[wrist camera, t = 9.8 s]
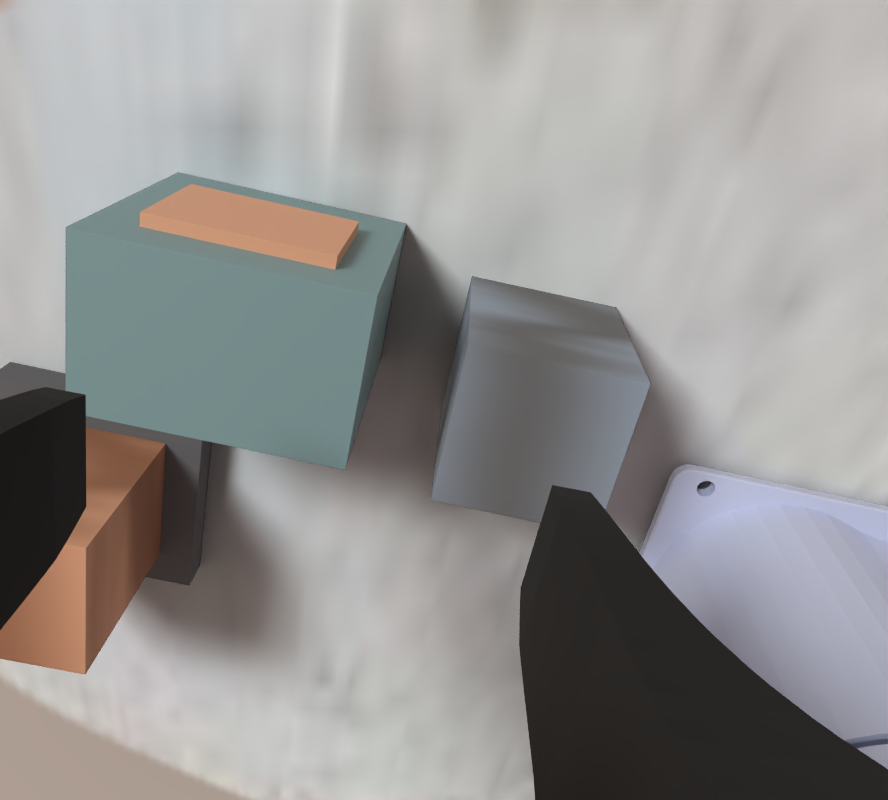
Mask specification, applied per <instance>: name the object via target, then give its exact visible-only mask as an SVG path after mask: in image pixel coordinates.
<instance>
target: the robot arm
mask: <svg viewBox="0 0 888 800" xmlns="http://www.w3.org/2000/svg"><path fill="white" fill-rule="evenodd" d="M703 481H710V482H711V484H710V486H709V487H707V488H705V489H698V488H697V486H698V485H699V484H700V483H701V482H703ZM85 508H86V395H85V394H80V393H74V392H69V391H64V390H59V389H54V388H49V387H43V388H38V389H34V390H30V391H27V392H23V393H20V394H17V395H14V396H10V397H7V398H4V399H1V400H0V630H1V629H2V628H3V626H4V625H5V624H6V623H7V621H8V620H9V619H10V618H11V616H12V615H13V614H14V613H15V611H16V610H17V609H18V608H19V606H20V605H21V604H22V603H23V601H24V600H25V599H26V598H27V596H28V595H29V594H30V592H31V591H32V590H33V589H34V587H35V586H36V585H37V584H38V582H39V581H40V580H41V578H42V577H43V576H44V575H45V573H46V572H47V571H48V569H49V568H50V567H51V565H52V564H53V563H54V561H55V560H56V559H57V557H58V555H59V554H60V552H61V550H62V549H63V547H64V545H65V544H66V542H67V540H68V539H69V537H70V535H71V534H72V532H73V530H74V528H75V526H76V525H77V523H78V521H79V519H80V517H81V516H82V514H83V512H84V510H85ZM519 646H520V657H521V666H522V676H523V685H524V694H525V703H526V712H527V721H528V730H529V739H530V748H531V757H532V765H533V774H534V787H535V800H888V506H884V505H879V504H875V503H870V502H865V501H861V500H856V499H851V498H847V497H842V496H837V495H833V494H828V493H823V492H818V491H814V490H809V489H804V488H800V487H795V486H790V485H786V484H781V483H776V482H772V481H767V480H762V479H758V478H753V477H748V476H744V475H739V474H734V473H730V472H725V471H720V470H716V469H711V468H706V467H701V466H697V465H690V464H685V465H682V466H679V467H677V468H676V469H675V470H674V471H673V472H672V474H671V475H670V477H669V480H668V482H667V485H666V487H665V490H664V492H663V495H662V497H661V500H660V502H659V505H658V507H657V510H656V512H655V515H654V517H653V520H652V522H651V525H650V527H649V530H648V533H647V535H646V538H645V540H644V543H643V545H642V548H641V550H640V553H639V552H638V551H637V550H636V549H635V547H634V546H633V545H632V544H631V542H630V541H629V540H628V539H627V537H626V536H625V535H624V533H623V532H622V531H621V530H620V528H619V527H618V526H617V524H616V523H615V522H614V521H613V519H612V518H611V517H610V515H609V514H608V513H607V512H606V510H605V509H604V508H603V506H602V505H601V504H600V503H599V501H598V500H597V499H596V498H595V497H594V496H593V494H592V493H591V492H586V491H581V490H576V489H571V488H566V487H560V486H555V485H552V487H551V491H550V494H549V497H548V500H547V504H546V507H545V510H544V513H543V517H542V520H541V523H540V527H539V530H538V533H537V536H536V540H535V543H534V546H533V550H532V553H531V556H530V559H529V563H528V566H527V569H526V572H525V576H524V579H523V582H522V586H521V596H520V637H519Z"/></svg>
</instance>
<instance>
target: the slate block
mask: <svg viewBox="0 0 888 800" xmlns="http://www.w3.org/2000/svg"><path fill="white" fill-rule="evenodd" d="M649 387H650V381H649V379H648V377H647V375H646V373H645V370H644V368H643V366H642V364H641V361H640V359H639V357H638V355H637V352H636V350H635V348H634V346H633V344H632V341H631V339H630V337H629V335H628V332H627V330H626V328H625V326H624V324H623V321H622V319H621V317H620V315H619V312H618V310H617V308H616V307H611V306H607V305H602V304H598V303H593V302H588V301H584V300H579V299H575V298H570V297H565V296H561V295H556V294H551V293H547V292H542V291H538V290H533V289H528V288H524V287H519V286H515V285H510V284H505V283H501V282H496V281H492V280H487V279H482V278H478V277H473V276H472V278H471V283H470V287H469V291H468V296H467V300H466V304H465V309H464V313H463V317H462V321H461V326H460V330H459V334H458V339H457V343H456V347H455V352H454V356H453V360H452V365H451V369H450V373H449V378H448V382H447V386H446V391H445V395H444V399H443V403H442V409H441V418H440V426H439V435H438V443H437V452H436V460H435V469H434V477H433V486H432V494H431V501H436V502H441V503H446V504H451V505H456V506H461V507H466V508H471V509H476V510H480V511H485V512H490V513H495V514H500V515H505V516H510V517H515V518H520V519H525V520H530V521H535V522H540V523H541V520H542V517H543V513H544V510H545V507H546V504H547V500H548V497H549V494H550V491H551V487H552V485H555V486H560V487H566V488H571V489H576V490H581V491H586V492H591V493H592V494H593V496H594V497H595V498H596V499H597V500H598V501H599V503H600V504H601V505H602V506H603V508H604V509H605V510H606V507H607V504H608V501H609V498H610V496H611V493H612V490H613V487H614V485H615V482H616V479H617V476H618V473H619V471H620V468H621V465H622V462H623V459H624V457H625V454H626V451H627V448H628V445H629V443H630V440H631V437H632V434H633V432H634V429H635V426H636V423H637V420H638V418H639V415H640V412H641V409H642V406H643V404H644V401H645V398H646V395H647V392H648V390H649Z"/></svg>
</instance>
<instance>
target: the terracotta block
mask: <svg viewBox="0 0 888 800" xmlns="http://www.w3.org/2000/svg"><path fill="white" fill-rule="evenodd" d="M165 448H166V443H161V442H156V441H151V440H146V439H141V438H136V437H131V436H126V435H121V434H117V433H112V432H107V431H102V430H97V429H92V428H87V427H86V508H85V510H84V512H83V514H82V516H81V517H80V519H79V521H78V523H77V525H76V526H75V528H74V530H73V532H72V534H71V535H70V537H69V539H68V540H67V542H66V544H65V545H64V547H63V549H62V550H61V552H60V554H59V555H58V557H57V559H56V560H55V561H54V563H53V564H52V565H51V567H50V568H49V569H48V571H47V572H46V573H45V575H44V576H43V577H42V578H41V580H40V581H39V582H38V584H37V585H36V586H35V587H34V589H33V590H32V591H31V592H30V594H29V595H28V596H27V598H26V599H25V600H24V601H23V603H22V604H21V605H20V606H19V608H18V609H17V610H16V611H15V613H14V614H13V615H12V616H11V618H10V619H9V620H8V621H7V623H6V624H5V625H4V626H3V628H2V629H1V630H0V659H5V660H11V661H16V662H21V663H27V664H32V665H37V666H43V667H48V668H53V669H59V670H64V671H69V672H75V673H80V674H86V673H87V671H88V669H89V668H90V666H91V664H92V663H93V661H94V660H95V658H96V656H97V655H98V653H99V651H100V650H101V648H102V647H103V645H104V643H105V642H106V640H107V638H108V637H109V635H110V634H111V632H112V630H113V629H114V627H115V625H116V624H117V622H118V621H119V619H120V617H121V616H122V614H123V612H124V611H125V609H126V608H127V606H128V604H129V603H130V601H131V599H132V598H133V596H134V595H135V593H136V591H137V590H138V588H139V586H140V585H141V583H142V582H143V580H144V578H145V577H146V575H147V573H148V572H149V570H150V569H151V567H152V565H153V564H154V562H155V560H156V559H157V557H158V556H159V554H160V537H161V519H162V502H163V484H164V466H165Z"/></svg>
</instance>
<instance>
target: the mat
mask: <svg viewBox="0 0 888 800" xmlns="http://www.w3.org/2000/svg"><path fill="white" fill-rule="evenodd" d="M43 387H49V388H54V389H59V390H64V391H66V374H64V373H59V372H55V371H50V370H45V369H40V368H36V367H31V366H26V365H21V364H17V363H12V362H10V363H8V364H7V365H6V366H4V367H3V368H1V369H0V400H1V399H4V398H7V397H10V396H14V395H17V394H20V393H23V392H27V391H30V390H34V389H38V388H43ZM86 427H87V428H92V429H97V430H102V431H107V432H112V433H117V434H121V435H126V436H131V437H136V438H141V439H146V440H151V441H156V442H161V443H166V448H165V466H164V484H163V502H162V519H161V537H160V554H159V556H158V557H157V559H156V560H155V562H154V564H153V565H152V567H151V569H150V570H149V572H148V573H147V575H146V577H150V578H155V579H160V580H165V581H170V582H175V583H180V584H185V585H190V583H191V581H192V579H193V577H194V575H195V574H196V572H197V570H198V568H199V566H200V557H201V546H202V536H203V525H204V515H205V504H206V494H207V483H208V472H209V462H210V451H211V442H208V441H204V440H199V439H194V438H189V437H184V436H180V435H175V434H170V433H165V432H161V431H156V430H151V429H146V428H141V427H137V426H132V425H127V424H122V423H117V422H113V421H108V420H103V419H98V418H93V417H89V416H86Z"/></svg>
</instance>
